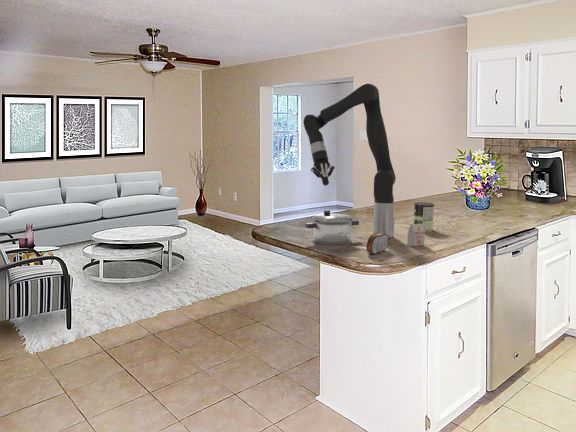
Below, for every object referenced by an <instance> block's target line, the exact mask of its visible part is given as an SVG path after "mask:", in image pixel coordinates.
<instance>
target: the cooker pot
mask: <svg viewBox="0 0 576 432" xmlns="http://www.w3.org/2000/svg"><path fill="white" fill-rule="evenodd" d="M359 225H360V221H359V220H357V219H353V221H352V222H349V223H339V224H331V223H320V222H316V221H313V222H305V223H304V228H306V229H312V231H313V232H312V233H313V234H312V235H313V238H312V241H313V242H315V243H317V244H321V245H329V246H331V245H332V246H337V245H338V246H339V245H346V244H350V243H351V242H352V226H359Z"/></svg>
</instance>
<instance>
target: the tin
mask: <svg viewBox="0 0 576 432" xmlns="http://www.w3.org/2000/svg"><path fill="white" fill-rule="evenodd" d="M388 245H389V238H388V235H387V234H386V233H382V232H380V233H376V234H373V233H372V234H371V235H370V236H369V237H368V239H367V242H366V252H367V253H368V254H372V255H377V254H380V253H382V251H383V252H385V251H384V250H387V247H388ZM379 252H380V253H379Z"/></svg>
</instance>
